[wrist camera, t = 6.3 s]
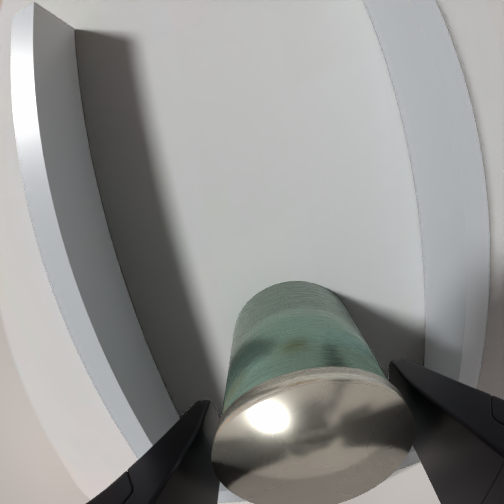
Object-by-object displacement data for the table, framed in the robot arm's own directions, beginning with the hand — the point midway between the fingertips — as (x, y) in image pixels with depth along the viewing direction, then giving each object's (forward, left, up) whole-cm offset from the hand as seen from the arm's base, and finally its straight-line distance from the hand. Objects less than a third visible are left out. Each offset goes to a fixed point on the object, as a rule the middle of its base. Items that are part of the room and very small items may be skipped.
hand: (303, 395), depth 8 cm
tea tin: (0, 0, -4) cm, 4 cm away
